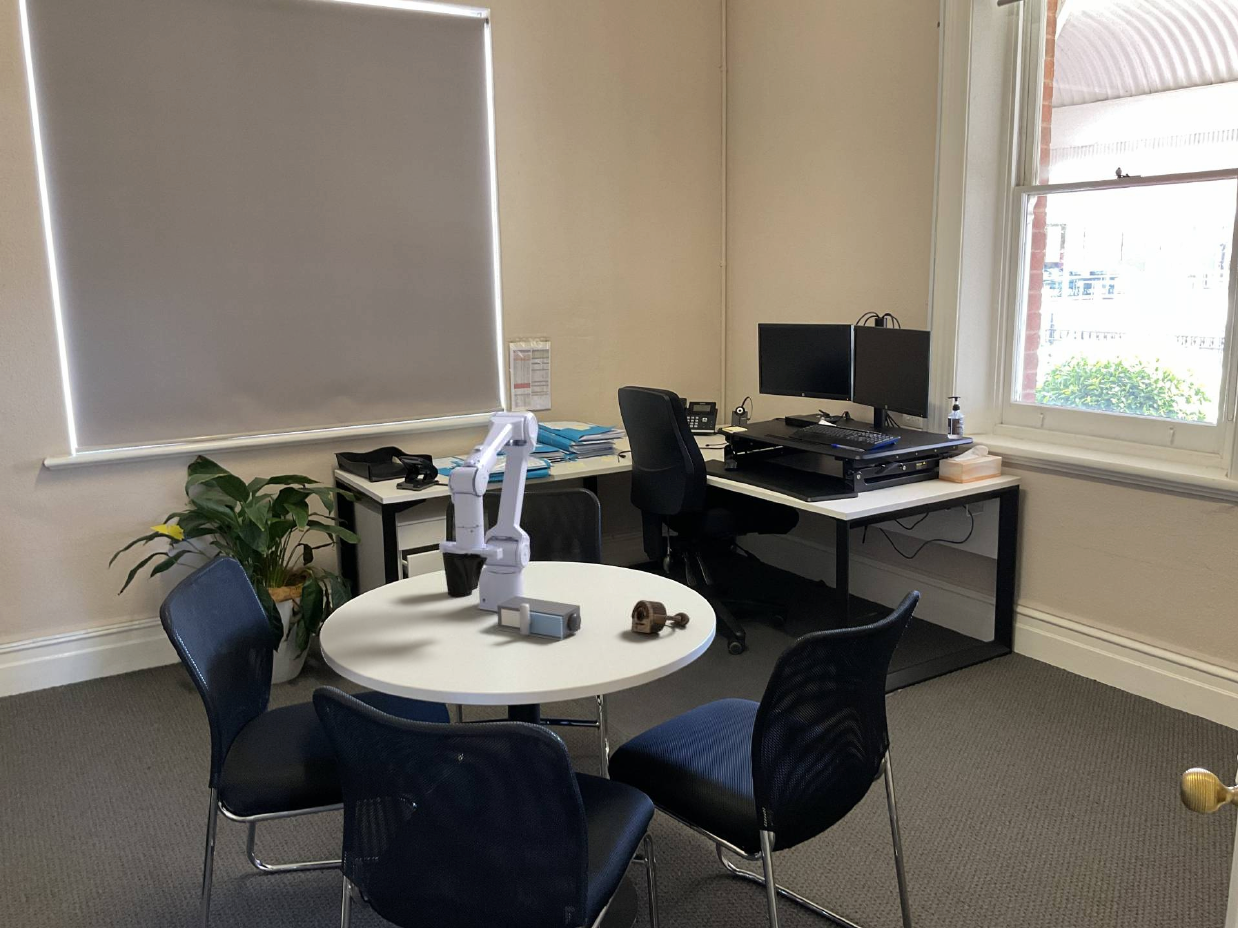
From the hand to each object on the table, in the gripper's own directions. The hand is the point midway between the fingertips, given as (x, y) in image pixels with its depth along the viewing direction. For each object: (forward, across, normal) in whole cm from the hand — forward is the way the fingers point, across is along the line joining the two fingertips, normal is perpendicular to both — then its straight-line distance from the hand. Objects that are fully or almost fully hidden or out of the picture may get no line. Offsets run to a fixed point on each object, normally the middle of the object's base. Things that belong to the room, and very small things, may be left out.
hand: (472, 588), depth 205 cm
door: (+9, +15, +2) cm, 17 cm away
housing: (+9, +11, +8) cm, 17 cm away
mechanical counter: (+10, +35, +18) cm, 40 cm away
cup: (+10, -19, +21) cm, 30 cm away
